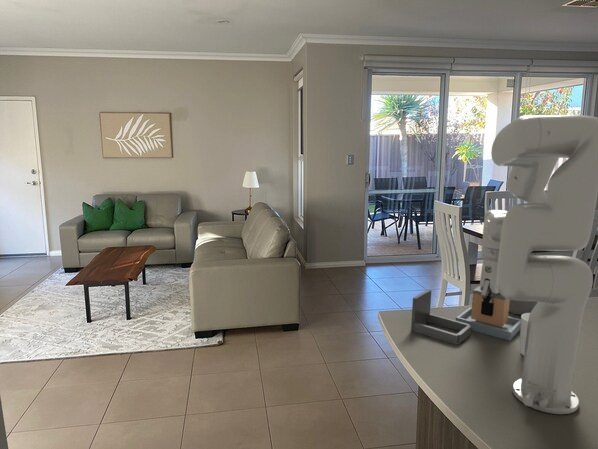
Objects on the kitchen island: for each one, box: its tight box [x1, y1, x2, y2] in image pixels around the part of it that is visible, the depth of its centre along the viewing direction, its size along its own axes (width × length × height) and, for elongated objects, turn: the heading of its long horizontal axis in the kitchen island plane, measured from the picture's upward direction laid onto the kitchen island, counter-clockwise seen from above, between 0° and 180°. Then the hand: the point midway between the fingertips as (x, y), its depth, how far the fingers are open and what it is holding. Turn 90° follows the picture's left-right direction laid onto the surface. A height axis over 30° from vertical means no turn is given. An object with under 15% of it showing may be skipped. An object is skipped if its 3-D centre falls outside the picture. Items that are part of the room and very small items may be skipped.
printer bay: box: [410, 289, 472, 345], centre depth 128 cm, size 10×14×10 cm
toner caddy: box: [471, 285, 510, 327], centre depth 131 cm, size 5×9×9 cm, turn 48°
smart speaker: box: [509, 300, 538, 317], centre depth 142 cm, size 10×9×14 cm
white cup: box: [519, 313, 530, 357], centre depth 114 cm, size 8×8×10 cm
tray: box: [455, 306, 521, 341], centre depth 132 cm, size 12×16×2 cm
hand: (490, 311), depth 132 cm, fingers closed on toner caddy, 4 cm apart
